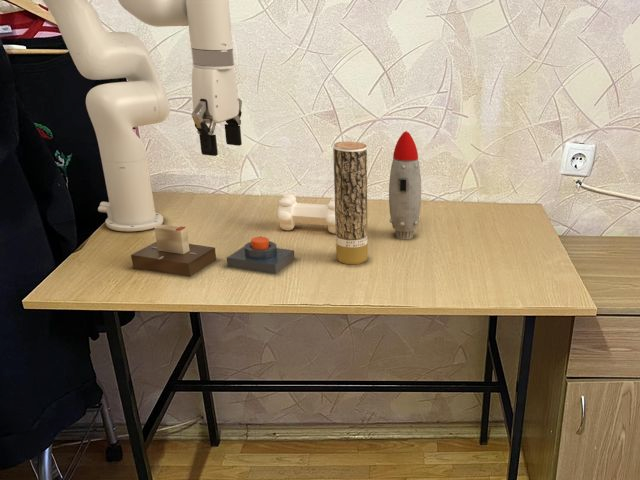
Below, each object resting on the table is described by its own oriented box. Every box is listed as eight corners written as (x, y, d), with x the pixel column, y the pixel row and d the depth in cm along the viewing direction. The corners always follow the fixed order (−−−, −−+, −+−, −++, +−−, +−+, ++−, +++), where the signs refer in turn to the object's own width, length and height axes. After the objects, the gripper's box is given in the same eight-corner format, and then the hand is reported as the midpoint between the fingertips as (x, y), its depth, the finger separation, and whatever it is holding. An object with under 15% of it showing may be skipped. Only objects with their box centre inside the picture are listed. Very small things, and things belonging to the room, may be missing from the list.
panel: (132, 268, 147) (130, 254, 145) (162, 252, 156) (160, 238, 154) (189, 277, 145) (187, 263, 143) (216, 260, 153) (215, 246, 152)
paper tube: (372, 257, 160) (372, 144, 148) (359, 267, 154) (357, 150, 143) (345, 252, 162) (342, 140, 150) (330, 262, 156) (327, 146, 144)
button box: (227, 267, 150) (225, 249, 149) (248, 253, 158) (247, 235, 156) (275, 274, 149) (274, 256, 147) (294, 259, 156) (293, 242, 154)
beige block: (157, 250, 148) (153, 226, 146) (163, 247, 150) (160, 223, 148) (183, 254, 147) (180, 230, 145) (189, 250, 149) (186, 226, 147)
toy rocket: (386, 241, 170) (386, 133, 158) (391, 230, 177) (391, 126, 165) (418, 243, 170) (420, 136, 158) (421, 232, 177) (424, 128, 165)
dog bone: (346, 226, 178) (346, 194, 174) (339, 238, 170) (339, 204, 166) (286, 222, 178) (284, 190, 174) (277, 233, 170) (274, 200, 166)
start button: (248, 249, 150) (247, 241, 150) (256, 243, 154) (256, 235, 153) (264, 251, 150) (263, 243, 149) (272, 245, 153) (271, 237, 152)
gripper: (217, 52, 144) (226, 139, 152) (169, 61, 129) (181, 157, 137) (252, 56, 143) (259, 143, 151) (207, 65, 128) (217, 161, 136)
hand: (222, 149), depth 144 cm, fingers open, 9 cm apart
